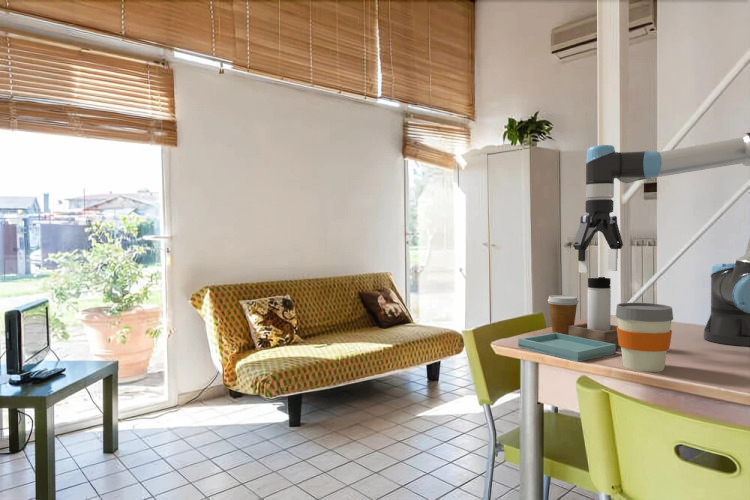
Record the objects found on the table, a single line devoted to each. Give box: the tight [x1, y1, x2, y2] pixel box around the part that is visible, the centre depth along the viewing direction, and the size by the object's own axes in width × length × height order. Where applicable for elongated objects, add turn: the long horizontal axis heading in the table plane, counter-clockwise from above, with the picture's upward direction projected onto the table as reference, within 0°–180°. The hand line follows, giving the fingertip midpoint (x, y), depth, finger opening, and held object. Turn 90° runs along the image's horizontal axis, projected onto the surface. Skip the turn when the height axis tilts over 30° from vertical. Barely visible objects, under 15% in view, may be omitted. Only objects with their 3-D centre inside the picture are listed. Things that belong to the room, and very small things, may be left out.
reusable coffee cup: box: [615, 302, 674, 373], centre depth 127 cm, size 13×12×15 cm
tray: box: [517, 332, 617, 362], centre depth 146 cm, size 20×16×2 cm
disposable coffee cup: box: [547, 294, 579, 335], centre depth 169 cm, size 10×10×12 cm
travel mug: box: [586, 276, 612, 331], centre depth 153 cm, size 6×7×20 cm
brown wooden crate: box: [569, 322, 621, 349], centre depth 153 cm, size 12×12×5 cm
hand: (598, 271), depth 153 cm, fingers open, 13 cm apart
